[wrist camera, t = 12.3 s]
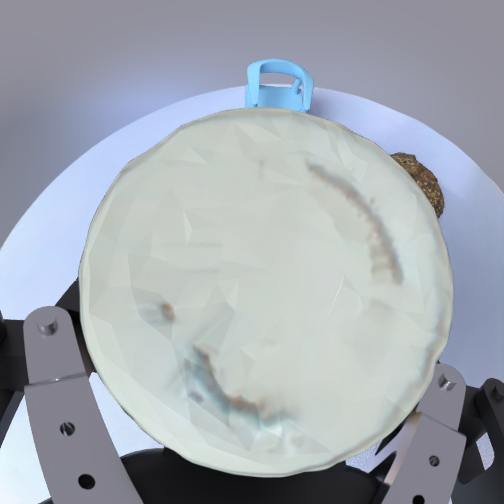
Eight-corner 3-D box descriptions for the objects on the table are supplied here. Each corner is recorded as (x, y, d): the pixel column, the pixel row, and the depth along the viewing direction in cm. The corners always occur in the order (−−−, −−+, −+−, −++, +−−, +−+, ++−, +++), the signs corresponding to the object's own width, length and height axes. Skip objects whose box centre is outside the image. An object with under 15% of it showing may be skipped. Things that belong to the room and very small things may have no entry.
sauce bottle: (278, 291, 23) (460, 82, 4) (285, 376, 21) (534, 458, 2) (190, 295, 22) (66, 62, 3) (194, 381, 20) (42, 544, 1)
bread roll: (381, 241, 37) (401, 227, 32) (350, 156, 40) (364, 135, 35) (449, 227, 39) (470, 214, 34) (419, 153, 42) (435, 136, 37)
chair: (234, 166, 37) (242, 99, 26) (236, 115, 39) (244, 47, 28) (297, 170, 38) (326, 108, 26) (293, 120, 40) (315, 55, 29)
